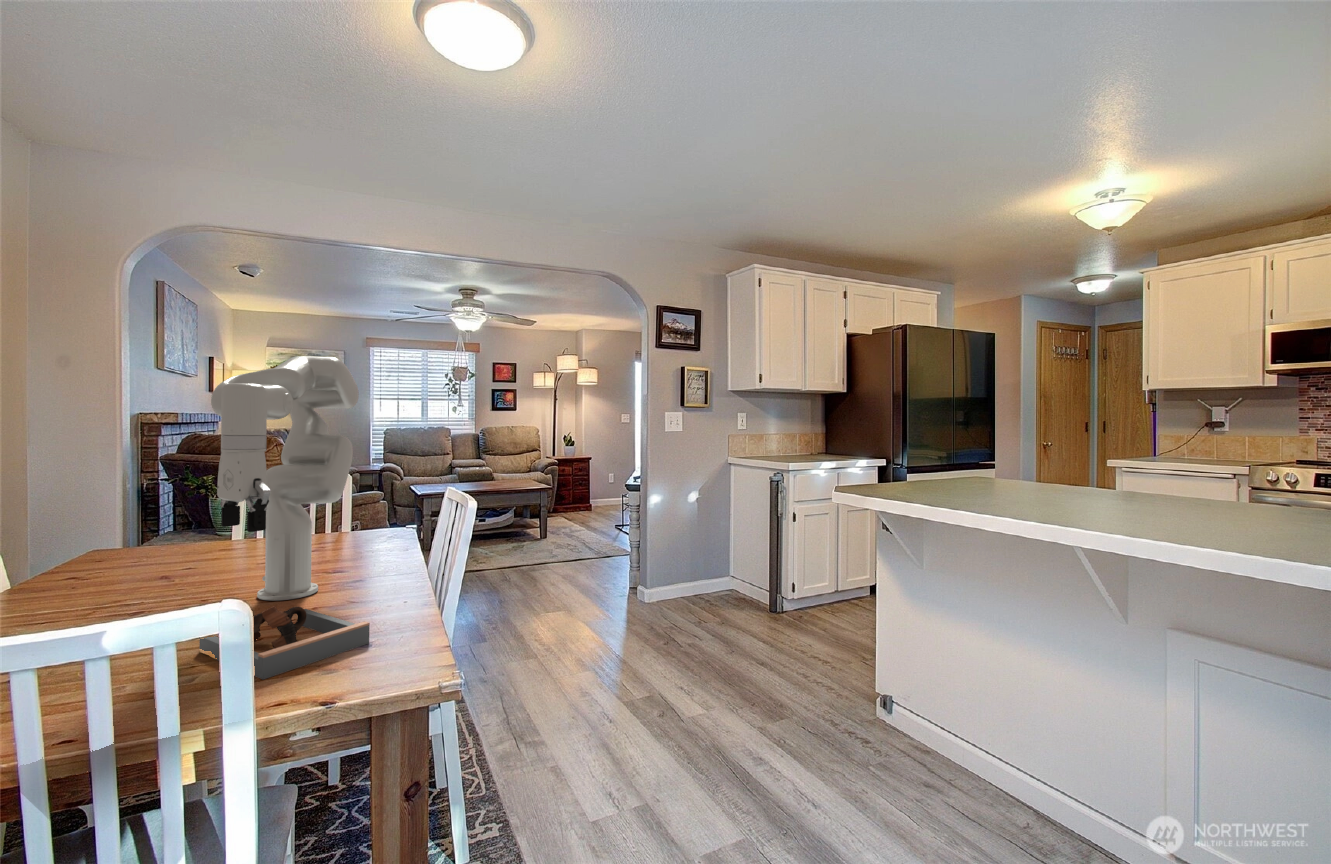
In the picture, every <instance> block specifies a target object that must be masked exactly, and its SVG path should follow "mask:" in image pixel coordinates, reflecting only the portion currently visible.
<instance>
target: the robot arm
mask: <svg viewBox="0 0 1331 864" xmlns="http://www.w3.org/2000/svg"><path fill="white" fill-rule="evenodd" d="M211 394H212V395H211V398H210V405H211V408H212V410H213V411H214V413H215V414H216V415H217V416H219V417H221V419H220V422H221V423H220V425H221V428H220V435H221V436H220V457H219V458H220V459H219V463H218V471H217V472H218V474H217V489H216V494H217V497H218V498H219V499H220V504H219V505H220V507H221V510H220V511H221V513H220V514H221V522H220V524H221V527H224V528H226V527H227V528H229V527H235V526H240V524H241V505H239V503H243V502H244V501H245V503H246V505H247V507H248V511H246V531H247V532H248V533H253V532H261V531H265V559H264V560H265V562H264V563H265V565H264V567H265V569H264V571H265V572H264V576H262V581H263V582H264V587H263V588H261V589H260V590H258V591H257V592H256V597H257V598H258V599H259V600H262V601H271V602H272V601H287V600H288V601H289V600H295V599H300V598H305V597H309V596H312V595H313V594H315V593H317V592H318V591H319V584H317V583H315V582H312V552H313V551H312V547H313V546H312V545H313V544H312V541H313V540H312V539H313V538H312V537H313V536H312V535H313V531H312V530H313V522H312V518H311V516H310V514H309V512H308V511H307V510H306V509H305V507H303V505H307V504H332V503H335V502H338V501H339V500H340V499H341V498H342V497H343V496H342V495H343V494H344V491H345V487H346V484H347V480H348V477H349V474H350V473H349V472H350V470H351V467H352V463H353V457H354V454H353V453H354V451H353V450H354V449H353V443H352V441H351V440H350V439H349V438H348V437H347V436H345V435H341V434H330V433H329V429H330V428H329V424H328V423H327V422H326V420H325V419H324V418H323V417H322V416H321V415H320V414H319V413H318V412H317V411H315V409H321V410H322V409H323V410H324V409H326V410H327V409H329V410H335V409H336V410H348V409H352V408H354V407H356V405H357V403H358V401H359V395H360V393H359V388H358V384H357V382H356V380H355V379H354V377H353V375H352V373H351V371H350V370H349V368H348V367H347V364H345V363H344V362H343V361H342V360H341V359H339V358H337V357H333V356H315V355H314V356H312V355H311V356H310V355H298V356H297V355H296V356H293V357H290V358H288V359H286V360H285V361H283V362H282V363H279V365H277V366H275V367H274V368H273V367H272V368H266V369H262V370H261V369H260V370H258V371H256V370H255V371H253V372H246V373H242V374H237V375H234V376H231V377H229V378H227V379H225V380H223V381H222V382H220V383H219V384H218V385H217V386H216V387H215V388H214V389H213V392H212V393H211ZM289 414H290V415H289ZM287 416H290V418H291V422H292V425H291V428H290V430H289V433H288V435H287V437H286V440H285V442H284V444H283V447H282V450H281V455H280V456H281V457H280V459H281V463H282V464H279V465H274V466H271V467H270V468H268V469H267V461H266V453H265V452H267V441H268V440H267V439H268V438H267V437H268V436H267V430H268V429H267V424H268V423H267V420H269V421H271V420H272V421H273V420H276V421H277V420H281V419H284V418H286V417H287Z"/></svg>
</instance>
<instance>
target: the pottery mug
mask: <svg viewBox="0 0 1331 864" xmlns="http://www.w3.org/2000/svg"><path fill="white" fill-rule="evenodd" d="M304 609H305V608H304V607H301V606H293V607H290V608H289V609H287V610H284V611H281V610H278V609H277V607H276V606H270V607H268V608H266V609H264V610H263V611H261V612H260V613H257V614H255V615H253V616H254V642H257V641H258V640H259V639H260V638H261V637H262V634H261V628H260V627H261V625H263V624H265V623H266V624H267V625H268V627H271V628H272V629H277V631H278V632H279V633H280V636H279V637H278V638H277V639H275V640H273V641H272V642H271V645H272V646H273V649H275V648H278V647H282V646H285V645H288V644H292V643H295V642H298V640H297V633H298V631H299V630H300V629H301V628H302V627H303V624H304V623H305V621H306V617H307V615H306V611H305V610H304ZM294 615H296V617H297V618H296V621H295V622H293V620H292V618H293V616H294ZM256 639H257V640H256Z"/></svg>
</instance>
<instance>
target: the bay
mask: <svg viewBox="0 0 1331 864" xmlns="http://www.w3.org/2000/svg"><path fill="white" fill-rule="evenodd" d="M303 609H304V610H305V611H306V615H307V617H306V621H305V623H304V624H303V626H302V627H303V628H307V629H310V630H312V631H315V630H316V632H318V633H321V634H318V635H315V636H312V637H308V638H306V639H305V638H304V639H302V640H297V642H295V643H292V644H288V645H285V646H282V647H278V648H272V649H269V650H266V651H263V652H258V651H255V650H253V651H254V666H255V676H254V677H256V678H258V679H259V680H266V679H269V678H272V677H275V676H278V675H281V674H284V673H286V672H290V671H292V670H295V669H299V668H302V667H304V666H307V665H309V664H313V663H315V662H318V661H321V660H324V659H328V658H330V657H334V656H337V655H338V654H341V653H346V652H348V651H351V650H355V649H356V648H360V647H363V646H365V645H368V644H370V626H371V625H370V622H369V621H362V622H357V623H354V622H351V621H347V620H345V619H341V618H337V617H335V616H331V615H327V614H324V613H321V612H319V611H318V612H317V611H315V610H311V609H307V608H303ZM213 636H214V637H207V638H204V639H200V638H199V639H200V640H199V644H198V645H199V646H198V648H199V649H202V650H204V651H211V652H212V654H214V655H215V658H217V660H216V661H217V662H220V661H219V638H220V637H218V636H215V635H213ZM199 649H198V650H199Z"/></svg>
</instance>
